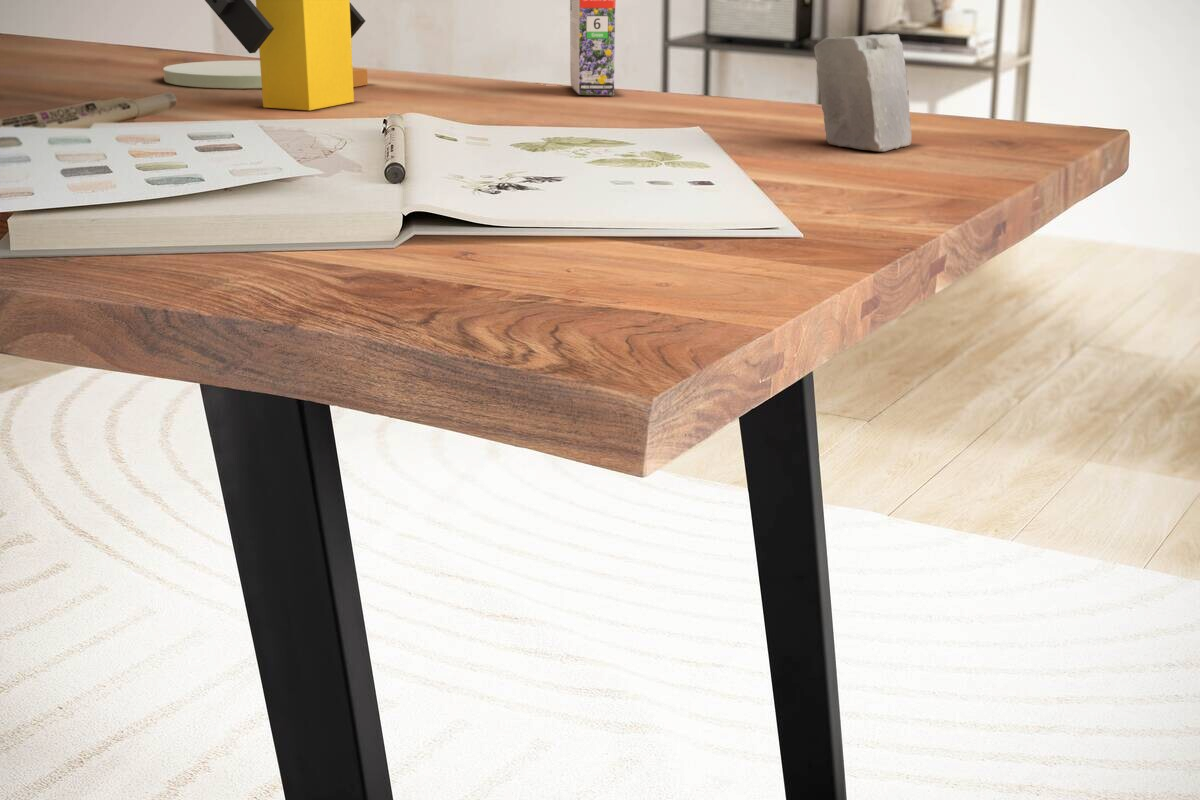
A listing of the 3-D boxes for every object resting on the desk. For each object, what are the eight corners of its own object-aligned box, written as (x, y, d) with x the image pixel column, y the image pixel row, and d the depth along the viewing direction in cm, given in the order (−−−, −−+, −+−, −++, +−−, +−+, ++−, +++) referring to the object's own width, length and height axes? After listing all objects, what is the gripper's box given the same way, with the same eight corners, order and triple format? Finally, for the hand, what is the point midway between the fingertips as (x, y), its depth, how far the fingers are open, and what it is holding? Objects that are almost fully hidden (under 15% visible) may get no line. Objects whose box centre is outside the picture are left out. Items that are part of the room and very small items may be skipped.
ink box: (605, 87, 126) (608, -71, 121) (616, 96, 118) (619, -72, 114) (568, 87, 125) (569, -72, 120) (576, 96, 118) (578, -73, 113)
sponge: (262, 107, 106) (253, -33, 102) (309, 99, 112) (302, -34, 108) (309, 110, 104) (301, -32, 101) (354, 102, 110) (348, -32, 107)
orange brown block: (318, 86, 121) (317, 70, 121) (340, 83, 125) (340, 67, 124) (346, 88, 120) (345, 72, 120) (367, 84, 124) (367, 68, 123)
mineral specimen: (924, 129, 95) (933, 21, 91) (890, 170, 89) (898, 55, 85) (829, 118, 98) (834, 13, 94) (789, 157, 92) (793, 45, 88)
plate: (131, 84, 120) (130, 71, 119) (212, 70, 135) (211, 58, 134) (292, 91, 117) (291, 78, 117) (355, 75, 132) (355, 63, 132)
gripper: (216, -118, 119) (363, 57, 119) (9, -135, 97) (190, 80, 97) (260, -181, 115) (412, -1, 115) (55, -214, 93) (243, 9, 93)
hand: (311, 36), depth 106 cm, fingers open, 13 cm apart
